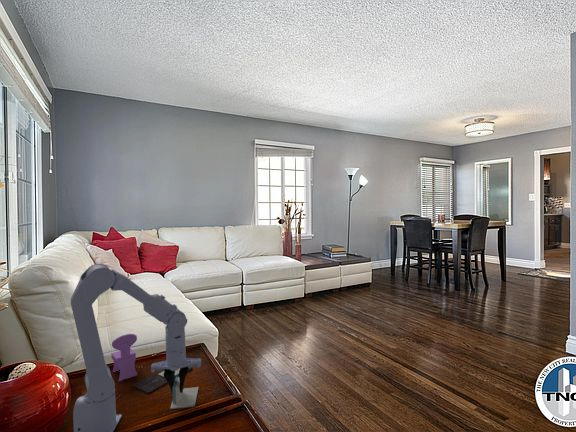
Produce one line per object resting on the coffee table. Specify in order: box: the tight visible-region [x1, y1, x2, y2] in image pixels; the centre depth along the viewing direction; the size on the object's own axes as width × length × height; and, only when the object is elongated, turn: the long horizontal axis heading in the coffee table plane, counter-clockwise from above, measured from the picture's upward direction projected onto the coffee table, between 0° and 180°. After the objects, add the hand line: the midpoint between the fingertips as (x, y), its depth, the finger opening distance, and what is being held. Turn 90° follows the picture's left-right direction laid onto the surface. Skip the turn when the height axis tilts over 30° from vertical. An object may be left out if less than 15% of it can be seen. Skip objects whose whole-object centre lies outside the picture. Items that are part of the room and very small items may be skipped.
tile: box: [172, 377, 182, 404], centre depth 100 cm, size 2×6×5 cm, turn 9°
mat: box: [169, 386, 200, 410], centre depth 100 cm, size 7×10×1 cm
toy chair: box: [110, 333, 139, 382], centre depth 116 cm, size 8×9×15 cm
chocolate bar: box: [131, 367, 194, 395], centre depth 113 cm, size 9×1×18 cm
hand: (177, 391), depth 100 cm, fingers closed on tile, 2 cm apart
